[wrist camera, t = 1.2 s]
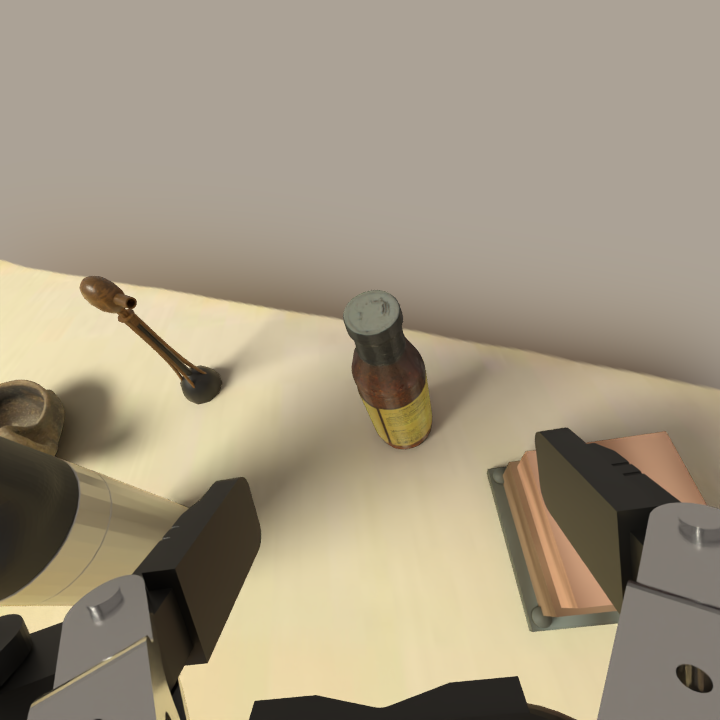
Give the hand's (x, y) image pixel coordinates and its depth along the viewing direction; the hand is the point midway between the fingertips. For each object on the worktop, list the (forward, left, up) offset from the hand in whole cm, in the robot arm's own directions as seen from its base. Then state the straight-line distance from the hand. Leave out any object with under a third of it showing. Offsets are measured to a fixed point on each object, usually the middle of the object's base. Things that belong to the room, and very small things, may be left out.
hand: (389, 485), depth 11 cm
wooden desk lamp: (-24, +23, -30) cm, 45 cm away
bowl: (-46, +18, -30) cm, 58 cm away
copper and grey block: (+14, +1, -30) cm, 33 cm away
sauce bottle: (0, +14, -30) cm, 33 cm away
